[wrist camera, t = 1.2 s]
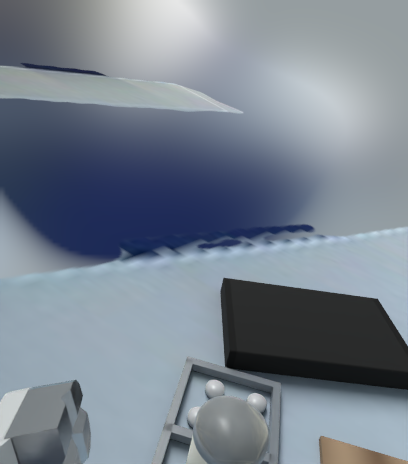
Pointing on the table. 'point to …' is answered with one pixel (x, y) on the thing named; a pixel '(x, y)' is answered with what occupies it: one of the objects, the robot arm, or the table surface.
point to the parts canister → (228, 433)
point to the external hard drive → (311, 335)
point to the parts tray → (215, 390)
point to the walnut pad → (351, 454)
